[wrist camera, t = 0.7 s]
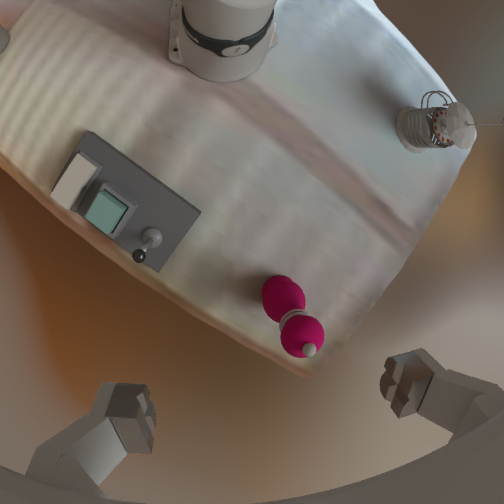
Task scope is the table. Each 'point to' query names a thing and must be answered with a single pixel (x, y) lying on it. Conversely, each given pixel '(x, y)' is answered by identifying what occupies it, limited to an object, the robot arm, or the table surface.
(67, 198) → the rocker switch
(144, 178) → the control panel
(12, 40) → the table surface
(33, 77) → the table surface
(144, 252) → the toggle lever
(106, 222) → the push button
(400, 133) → the french press
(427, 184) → the table surface
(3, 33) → the cup
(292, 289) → the pepper mill
